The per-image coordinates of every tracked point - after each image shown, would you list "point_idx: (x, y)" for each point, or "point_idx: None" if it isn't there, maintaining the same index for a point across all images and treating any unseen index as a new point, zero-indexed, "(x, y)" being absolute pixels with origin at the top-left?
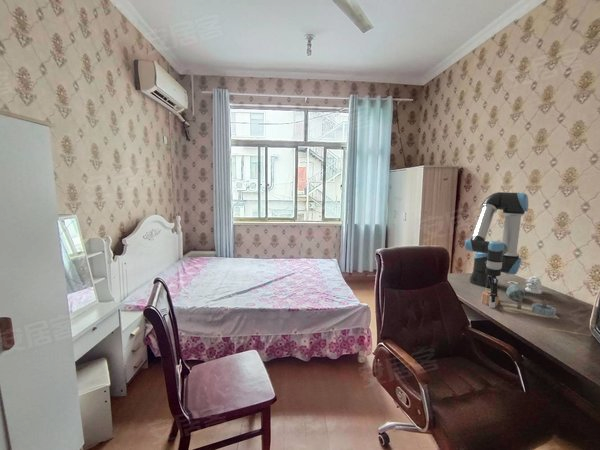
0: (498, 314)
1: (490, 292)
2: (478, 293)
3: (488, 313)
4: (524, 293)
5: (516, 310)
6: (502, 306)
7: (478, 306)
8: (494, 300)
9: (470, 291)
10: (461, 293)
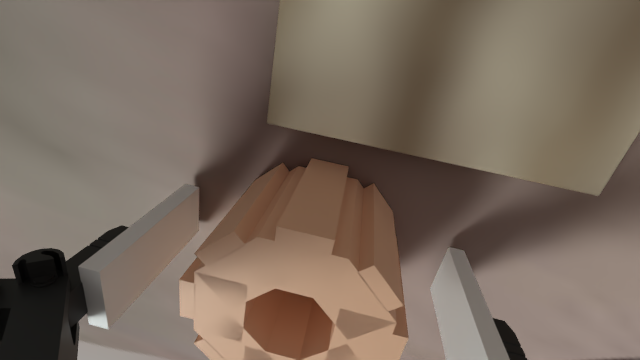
0: (636, 282)
1: (226, 303)
2: (53, 217)
3: (599, 353)
4: None
5: (588, 18)
6: (436, 160)
7: (423, 355)
8: (519, 353)
9: None
10: (137, 349)
